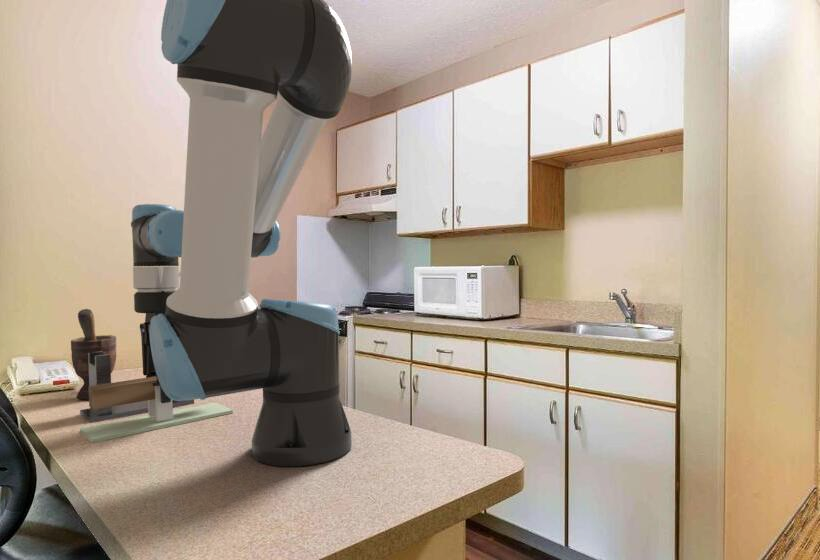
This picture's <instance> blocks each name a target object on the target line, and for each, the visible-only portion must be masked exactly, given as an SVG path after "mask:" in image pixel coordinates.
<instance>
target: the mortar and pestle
mask: <svg viewBox="0 0 820 560" xmlns="http://www.w3.org/2000/svg"><path fill="white" fill-rule="evenodd" d="M77 319H78V324H79V325H80V329H81V330H82V333H83V336H81V337H80V336H79V337H78V338H74V339H73V338H72V339H71V340H70V350H71V362H72V366H73V369H74V372H75V375H77V376H78V377H80V378H81V379H82V381H83V385H82V386H81V387H80V389H79V391H78V392H77V395H76V399H80V400H87V401H89V360H88V353H89V352H99V351H103V355H106V354H110V363H111V374H112V373H113V371H114V370H115V366H116V361H117V336H116V335H113V334H108V335H107V334H102V335H101V334H100V335H96V323H95V315H94V313H93V311H92V310H91V309H89V308H84V309H80V310H79V311H78V313H77Z"/></svg>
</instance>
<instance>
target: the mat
mask: <svg viewBox="0 0 820 560" xmlns="http://www.w3.org/2000/svg"><path fill="white" fill-rule="evenodd" d="M233 413H234V410H233V409H232V408H229V407H227V406H225V405H222V404H220V403H219V402H212V403H205V404H201V405H195V406H191V407H190V406H189V407H185V408H181V409H174V410H173V419H169V420H164V421H159V422H157V421H156V416H153V417H149V416H148V415H144V416H140V417H139V416H138V417H134V418H128V419H123V420H119V421H114V422H113V421H112V422H106V423H102V424H97V425H92V426H86V427H81V428H80V429H79V430H80V431H79V433H81V434H82V435H83V436H84V437H85V438H86V440H88V441H89V442H90V443H91V444H93V443H97V442H102V441H107V440H111V439H117V438H122V437H125V436H132V435H135V434H141V433H145V432H146V433H147V432H149V431H155V430H159V429H164V428H168V427H169V428H170V427H173V426H179V425H182V424H188V423H192V422H198V421H201V420H206V419H211V418H216V417H217V418H218V417H222V416H225V415H226V416H227V415H230V414H233Z"/></svg>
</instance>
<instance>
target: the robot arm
mask: <svg viewBox="0 0 820 560" xmlns="http://www.w3.org/2000/svg"><path fill="white" fill-rule="evenodd" d="M161 23H162V24H161V31H160V32H161V33H160V34H161V35H160V41H161V52H162V55H163V57H164V59H165V60H166V61H168V62H170V63H171V64H172V65H177V72H176V81H177V83H178V84H179V85H180V87H181V88H182V89H183V90H184V92H185V93H186V94H187V95H188V97H189V110H188V111H189V112H188V128H187V130H188V131H187V148H186V164H185V165H186V166H185V167H186V168H185V182H184V183H185V184H184V199H183V200H184V202H183V203H184V204H183V210H180V209H179V210H178V209H177V208H176V207H174V206H173V205H169V204H158V203H157V204H156V203H145V204H136V205H135V206H133V208H132V210H131V222H130V227H131V233H132V262H133V267H132V278H133V279H132V281H133V282H132V285H133V289H134V290H137V292H136V291H135V293H134V294H133V307H134V311H135V313H137V314H145V318H144V322H143V323H139V330H140V338H141V339H140V340H141V357H142V358H141V360H142V374H143V376H145V378H148V377H155V376H156V377H157V383H153V386H155V399H153V400H148V412H147V413H148V414H147V416H149V417H153V416H156V421H157V422H159V421H164V420H169V419H173V411H174V410H173V408H174V407H173V404H172V400H175V401H186V400H194V401H195V400H201V401H204V400H206V399H208V398H215V397H219V396H225V395H233V394H238V393H244V392H249V391H250V392H251V391H256V390H261V389H262V404H261V408H260V411H259V413H258V414H259V415H258V417H257V422H256V424H255V428H254V431H253V434H252V437H251V455H252V457H253V458H254V459H255V460H256V461H258V462H260V463H263V464H266V465H271V466H278V467H303V466H304V467H305V466H311V465H318V464H321V463H326V462H330V461H333V460H336V459H338V458H340V457H343V456H345V455H346V454H347V453H348V452H349V451H350V450H351V449H352V446H353V445H352V429H351V427H350V424H349V422H348V418H347V416H346V412H345V409H344V406H343V404H342V401H341V397H340V396H341V395H340V345H339V343H340V342H339V341H340V339H339V337H340V334H341V331H340V325H339V317H338V311H337V309H336V308H335V307H334V306H333V305H331V304H328V303H320V302H311V301H310V302H309V301H300V300H288V299H287V300H286V299H276V298H262V300H261V301H260V304H259V302H258V300H257V299H255V297H254V296H253V295H252V293H250V292H249V283H250V270H251V258H259V257H270V256H272V255H273V256H274V255H275V254H276V252H278V249H279V247H280V240H281V228H280V225H279V223H278V221H277V220H278V217H279V216H280V214H281V211H282V210H283V207H284V205H285V203H286V201H287V200H288V198H289V196H290V193H291V192H292V190H293V187H294V186H295V184H296V182H297V180H298V178H299V176H300V174H301V172H302V170H303V168H304V166H305V164H306V162H307V160H308V158H309V157H310V154H311V152H312V150H313V148H314V147H315V144H316V142H317V140H318V138H319V137H320V134H321V133H322V130H323V129H324V127H325V124H326V123H327V121H331V120H335V118H337V117H338V115H339V113H340V111H341V109H342V108H343V105H344V103H345V101H346V99H347V96H348V93H349V90H350V86H351V80H352V75H353V74H352V72H353V58H352V48H351V43H350V40H349V37H348V34H347V31H346V29H345V26H344V24H343V22H342V20H341V18H340V17H339V15H338V14H337V13H336V11H335V10H334V9H333V8H332V7H331V5H330V4H328V3H327V2H326V1H325V0H166V3H165V7H164V12H163V16H162V22H161ZM274 102H275V104H274V106H273V109H272V111H271V114H270V115H269V118H268V121H267V123H266V126H265V128H264V131H263V121H264V120H263V119H264V112H265V110H266V108H268V107H269V106H271V105H272V104H273V103H274ZM262 131H263V133H262ZM179 258H180V262H179ZM179 263H180V264H179ZM179 265H180V268H179ZM179 270H180V271H179Z"/></svg>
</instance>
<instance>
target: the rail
mask: <svg viewBox="0 0 820 560" xmlns="http://www.w3.org/2000/svg"><path fill="white" fill-rule="evenodd" d="M153 383H157V377H156V376H155V377H148V378H146V377H143V378H135V379H130V380H123V381H121V380H120V381H116V382H111V383H107V384H100V385H94V386H89V400H88V403H89V405H88V407H89V408H90V407H91V408H92V409H94V410H96V409H101V408H107V407H113V406H118V405H124V404H130V403H136V402H141V401H147V400H153V399H155V386H153Z"/></svg>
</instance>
